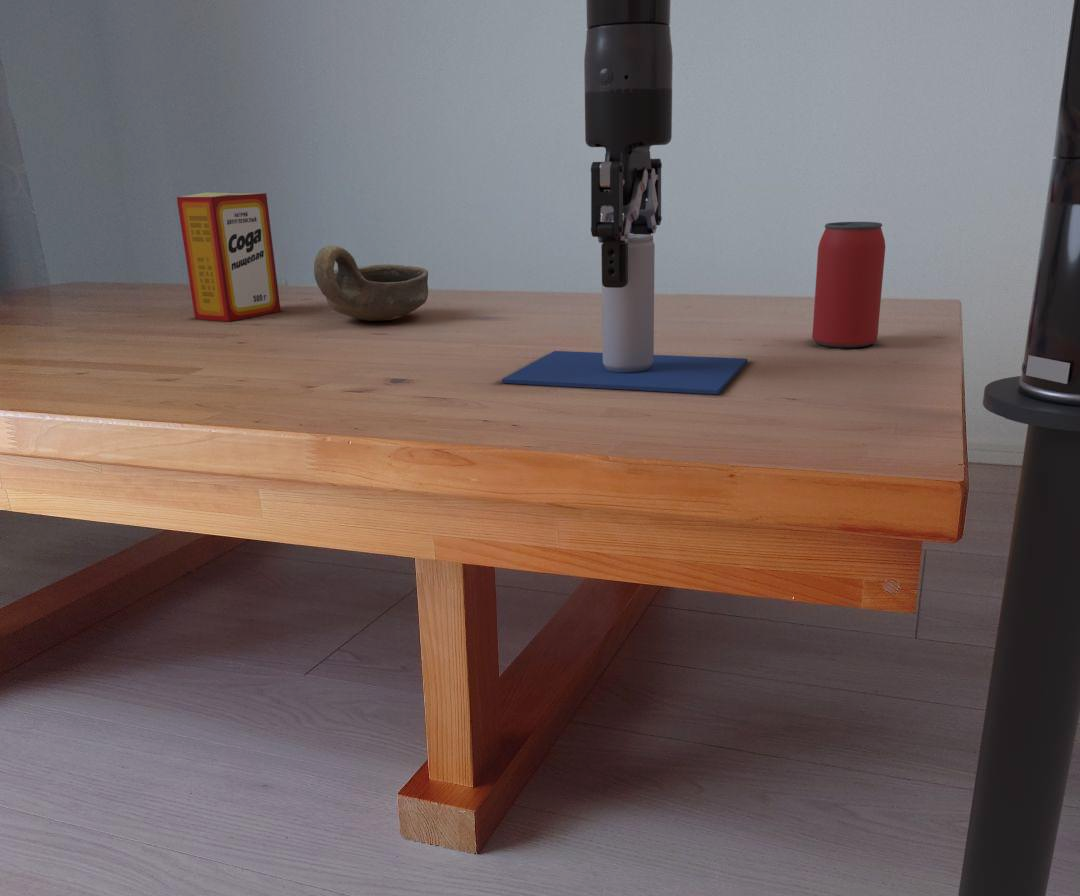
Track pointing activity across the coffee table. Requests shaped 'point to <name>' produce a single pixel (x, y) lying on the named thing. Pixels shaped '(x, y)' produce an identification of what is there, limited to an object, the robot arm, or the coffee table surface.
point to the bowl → (369, 286)
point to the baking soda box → (229, 255)
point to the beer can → (848, 284)
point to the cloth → (661, 376)
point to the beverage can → (631, 312)
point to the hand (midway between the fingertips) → (628, 281)
